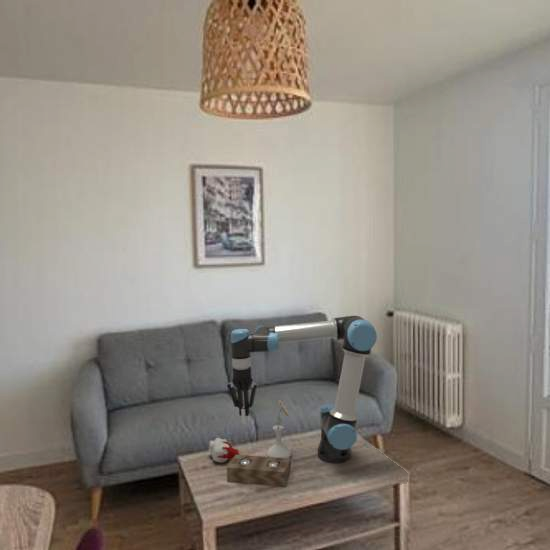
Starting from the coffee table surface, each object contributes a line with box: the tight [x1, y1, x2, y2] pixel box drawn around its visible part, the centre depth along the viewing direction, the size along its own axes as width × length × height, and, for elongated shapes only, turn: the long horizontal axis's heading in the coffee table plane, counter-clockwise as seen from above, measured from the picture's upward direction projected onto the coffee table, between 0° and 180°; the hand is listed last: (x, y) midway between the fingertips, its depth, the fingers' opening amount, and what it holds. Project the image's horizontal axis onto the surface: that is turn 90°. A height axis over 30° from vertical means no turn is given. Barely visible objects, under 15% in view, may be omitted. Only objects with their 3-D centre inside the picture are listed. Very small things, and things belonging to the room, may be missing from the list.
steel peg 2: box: [268, 462, 278, 467], centre depth 205 cm, size 4×4×6 cm
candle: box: [208, 437, 240, 464], centre depth 223 cm, size 9×11×15 cm
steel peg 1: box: [240, 459, 250, 465], centre depth 208 cm, size 4×4×6 cm
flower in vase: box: [266, 400, 293, 459], centre depth 224 cm, size 13×11×25 cm
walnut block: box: [226, 454, 292, 488], centre depth 207 cm, size 24×12×6 cm, turn 77°
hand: (244, 423), depth 207 cm, fingers closed
